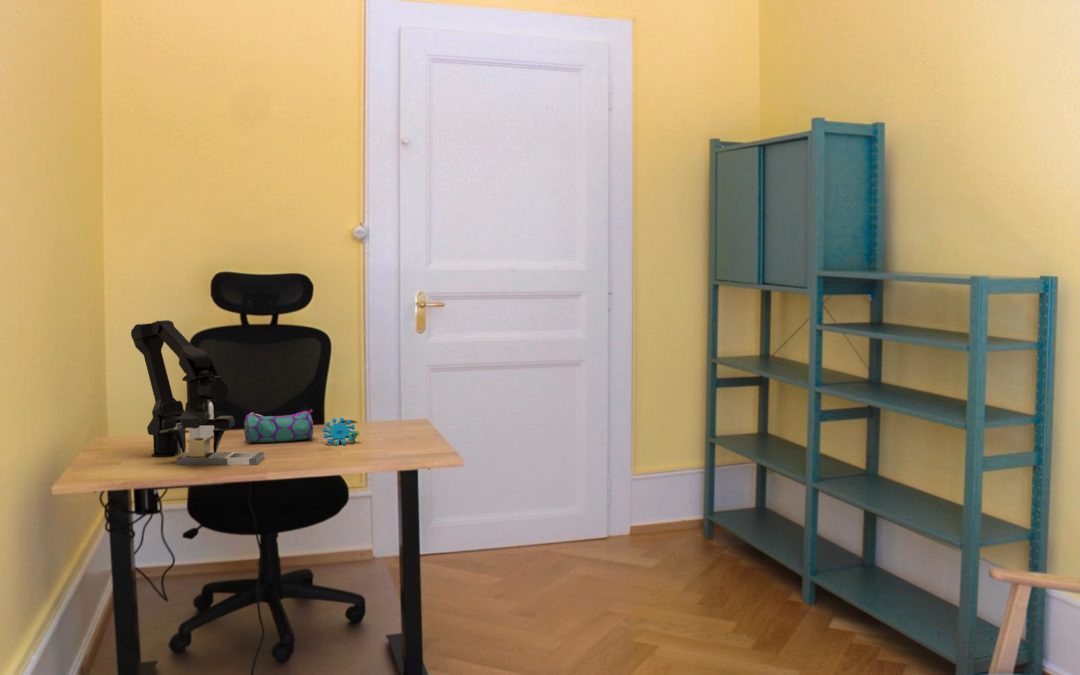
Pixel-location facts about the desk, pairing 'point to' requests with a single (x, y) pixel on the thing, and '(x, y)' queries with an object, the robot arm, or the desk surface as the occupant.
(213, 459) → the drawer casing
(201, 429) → the photo printer
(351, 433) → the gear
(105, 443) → the desk surface
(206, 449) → the wooden pull-out drawer
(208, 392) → the robot arm
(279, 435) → the pencil case
